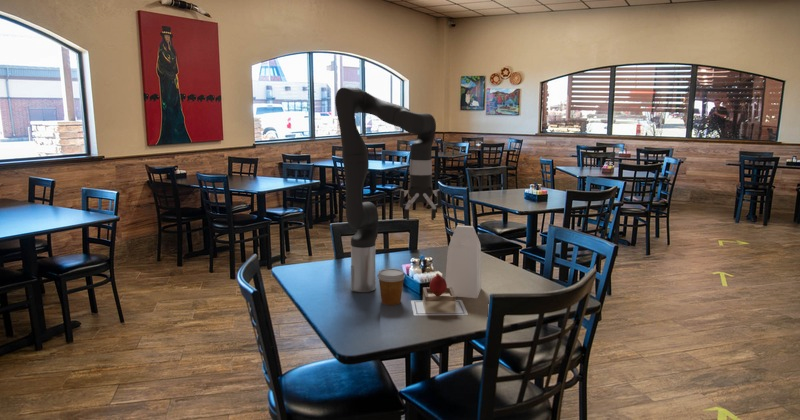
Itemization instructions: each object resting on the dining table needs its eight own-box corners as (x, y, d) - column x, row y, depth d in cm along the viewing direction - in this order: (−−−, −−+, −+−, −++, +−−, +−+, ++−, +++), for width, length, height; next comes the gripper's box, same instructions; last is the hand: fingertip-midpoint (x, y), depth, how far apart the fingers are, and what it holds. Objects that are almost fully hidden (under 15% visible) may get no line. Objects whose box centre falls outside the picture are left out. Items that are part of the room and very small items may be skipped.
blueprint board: (413, 318, 181) (413, 315, 181) (410, 303, 195) (410, 300, 194) (468, 318, 182) (468, 314, 182) (461, 303, 195) (461, 299, 195)
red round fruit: (445, 293, 190) (445, 270, 189) (447, 299, 185) (448, 276, 183) (428, 293, 190) (428, 271, 188) (430, 299, 184) (430, 276, 183)
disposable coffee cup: (389, 298, 200) (389, 266, 198) (410, 304, 194) (410, 271, 192) (371, 305, 193) (371, 272, 190) (392, 312, 187) (392, 278, 185)
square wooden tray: (425, 312, 183) (425, 297, 182) (422, 302, 193) (422, 287, 192) (455, 312, 183) (455, 296, 182) (451, 302, 193) (451, 287, 192)
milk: (481, 291, 208) (483, 224, 204) (477, 301, 197) (479, 230, 193) (449, 288, 211) (451, 222, 207) (444, 298, 201) (445, 228, 196)
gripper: (400, 174, 183) (400, 222, 186) (443, 174, 184) (442, 221, 187) (399, 171, 191) (399, 217, 194) (440, 171, 191) (439, 217, 194)
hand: (420, 219), depth 190 cm, fingers open, 8 cm apart
